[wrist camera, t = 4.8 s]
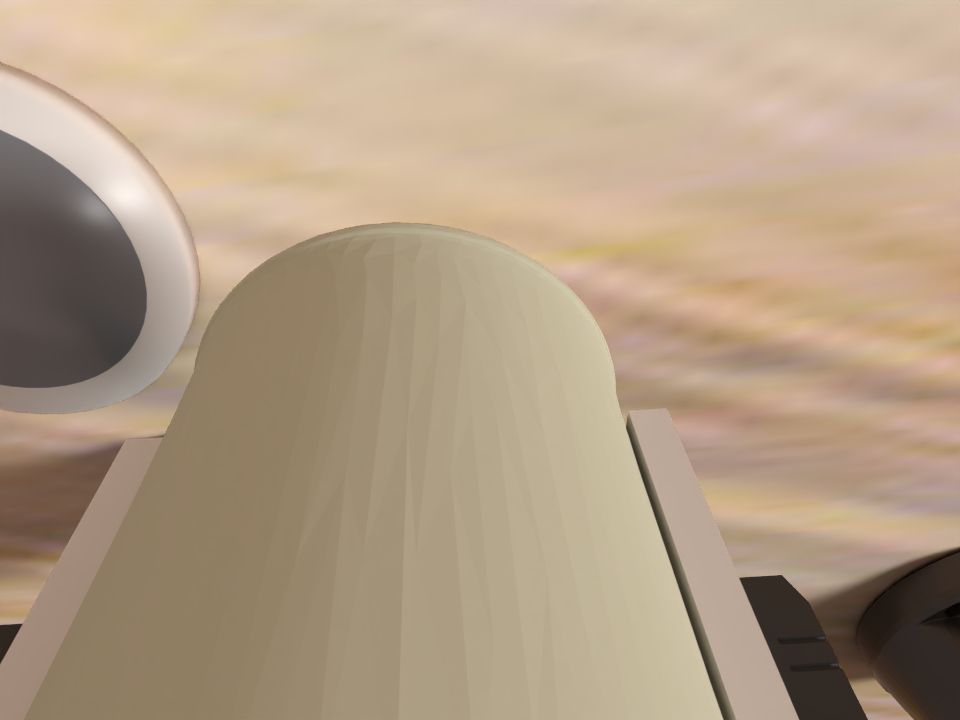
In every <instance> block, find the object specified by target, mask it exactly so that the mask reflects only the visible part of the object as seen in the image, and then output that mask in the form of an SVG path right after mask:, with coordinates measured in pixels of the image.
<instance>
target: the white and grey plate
mask: <svg viewBox="0 0 960 720" xmlns="http://www.w3.org/2000/svg"><path fill="white" fill-rule="evenodd" d="M199 291H200V272H199V261H198V256H197V252H196V248H195V244H194V240H193V236H192V234H191V231H190V229H189V226H188V224H187V221H186V219H185V216H184V214H183V212H182V210H181V209H180V207H179V205H178V203H177V201H176V199H175V198H174V196H173V194H172V192H171V191H170V189H169V188H168V186H167V185H166V184H165V182H164V181H163V179H162V178H161V176H160V175H159V174H158V172H157V171H156V169H155V168H154V167H153V166H152V165H151V164H150V163H149V161H148V160H147V159H146V158H145V157H144V156H143V154H142V153H141V152H140V151H139V150H138V149H137V148H136V147H135V146H134V145H133V144H132V143H131V142H130V141H129V140H128V139H127V138H126V137H125V136H124V135H123V134H122V133H120V132H119V131H118V130H117V129H116V128H115V127H114V126H113V125H112V124H110V123H109V122H108V121H106V120H105V119H104V118H103V117H101V116H100V115H99V114H97V113H96V112H95V111H93V110H92V109H91V108H90V107H88V106H87V105H85V104H84V103H82V102H80V101H79V100H77V99H76V98H74V97H72V96H71V95H69V94H68V93H66V92H65V91H63V90H61V89H60V88H58V87H56V86H54V85H52V84H50V83H48V82H46V81H44V80H42V79H40V78H38V77H36V76H34V75H32V74H30V73H27V72H25V71H22V70H20V69H17V68H14V67H12V66H9V65H7V64H4V63H1V62H0V409H1V410H7V411H13V412H20V413H33V414H67V413H76V412H85V411H89V410H94V409H98V408H103V407H106V406H109V405H112V404H115V403H117V402H120V401H123V400H125V399H127V398H129V397H131V396H133V395H135V394H136V393H138V392H140V391H142V390H143V389H144V388H146V387H147V386H148V385H150V384H151V383H152V382H154V381H155V380H156V379H157V378H158V377H159V376H160V375H161V374H162V373H163V372H164V371H165V370H166V369H167V367H168V366H169V364H170V363H171V361H172V360H173V358H174V357H175V355H176V354H177V352H178V350H179V348H180V346H181V344H182V343H183V341H184V339H185V337H186V335H187V333H188V331H189V329H190V326H191V324H192V322H193V319H194V317H195V313H196V309H197V305H198V301H199Z"/></svg>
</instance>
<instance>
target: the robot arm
mask: <svg viewBox="0 0 960 720" xmlns="http://www.w3.org/2000/svg"><path fill="white" fill-rule="evenodd" d="M626 430H627V433H628V436H629V439H630V442H631V445H632V449H633V452H634V455H635V458H636V461H637V464H638V468H639V471H640V474H641V477H642V480H643V483H644V486H645V489H646V492H647V495H648V498H649V501H650V504H651V507H652V510H653V513H654V516H655V519H656V522H657V525H658V528H659V531H660V534H661V537H662V540H663V543H664V545H665V548H666V551H667V554H668V557H669V560H670V563H671V566H672V569H673V572H674V575H675V578H676V581H677V584H678V587H679V590H680V593H681V596H682V599H683V602H684V605H685V608H686V611H687V614H688V617H689V620H690V623H691V626H692V629H693V632H694V635H695V638H696V641H697V644H698V647H699V650H700V653H701V656H702V659H703V662H704V665H705V668H706V671H707V674H708V677H709V680H710V683H711V685H712V688H713V691H714V694H715V697H716V700H717V703H718V706H719V709H720V712H721V714H722V717H723V720H868V719H867V717H866V715H865V713H864V711H863V709H862V707H861V705H860V703H859V701H858V699H857V697H856V695H855V693H854V691H853V689H852V687H851V685H850V683H849V681H848V679H847V677H846V675H845V673H844V671H843V670H842V669H840V668H839V664H838V663H839V662H838V660H837V658H836V656H835V654H834V652H833V650H832V648H831V646H830V644H829V642H827V641H826V639H825V634H824V632H823V630H822V628H821V626H820V624H819V622H818V620H817V618H816V616H815V614H814V612H813V610H812V608H811V606H810V604H809V602H808V601H807V600H806V599H805V598H804V597H803V596H802V595H801V594H800V593H799V592H798V591H797V590H796V589H795V588H794V587H793V586H792V585H791V584H790V583H789V582H788V581H787V580H786V579H785V578H784V577H783V576H782V575H777V576H761V577H745V578H739V577H738V574H737V572H736V570H735V567H734V565H733V563H732V560H731V558H730V555H729V553H728V551H727V548H726V546H725V544H724V541H723V539H722V537H721V534H720V532H719V530H718V527H717V525H716V522H715V520H714V518H713V515H712V513H711V511H710V508H709V506H708V504H707V501H706V499H705V497H704V494H703V492H702V489H701V487H700V485H699V482H698V480H697V478H696V475H695V473H694V471H693V468H692V466H691V464H690V461H689V459H688V456H687V454H686V452H685V449H684V447H683V445H682V442H681V440H680V438H679V435H678V433H677V431H676V428H675V426H674V423H673V421H672V419H671V416H670V414H669V412H668V409H650V410H632V411H628V416H627V424H626ZM162 439H163V437H160V438H143V439H126V440H125V442H124V443H123V445H122V447H121V449H120V451H119V452H118V454H117V456H116V458H115V460H114V461H113V463H112V465H111V467H110V469H109V470H108V472H107V474H106V476H105V477H104V479H103V481H102V483H101V485H100V486H99V488H98V490H97V492H96V494H95V495H94V497H93V499H92V501H91V503H90V504H89V506H88V508H87V510H86V512H85V513H84V515H83V517H82V519H81V520H80V522H79V524H78V526H77V528H76V529H75V531H74V533H73V535H72V537H71V538H70V540H69V542H68V544H67V546H66V547H65V549H64V551H63V553H62V555H61V556H60V558H59V560H58V562H57V563H56V565H55V567H54V569H53V571H52V572H51V574H50V576H49V578H48V580H47V581H46V583H45V585H44V587H43V589H42V590H41V592H40V594H39V596H38V598H37V599H36V601H35V603H34V605H33V607H32V608H31V610H30V612H29V614H28V615H27V617H26V619H25V621H24V623H23V624H12V625H0V720H24V718H25V716H26V714H27V712H28V710H29V708H30V706H31V704H32V702H33V700H34V698H35V696H36V694H37V692H38V690H39V688H40V686H41V684H42V682H43V680H44V678H45V676H46V674H47V672H48V670H49V668H50V666H51V664H52V662H53V660H54V658H55V656H56V654H57V652H58V650H59V648H60V646H61V644H62V642H63V640H64V638H65V636H66V634H67V632H68V630H69V628H70V626H71V624H72V622H73V620H74V618H75V616H76V614H77V612H78V610H79V608H80V606H81V604H82V602H83V600H84V598H85V596H86V594H87V592H88V590H89V588H90V586H91V584H92V582H93V580H94V578H95V576H96V574H97V572H98V570H99V568H100V566H101V564H102V562H103V560H104V558H105V556H106V554H107V552H108V550H109V548H110V546H111V544H112V542H113V539H114V537H115V535H116V533H117V531H118V529H119V527H120V525H121V523H122V521H123V519H124V517H125V515H126V513H127V511H128V509H129V507H130V505H131V503H132V501H133V499H134V497H135V495H136V493H137V491H138V489H139V487H140V485H141V483H142V481H143V478H144V476H145V474H146V472H147V470H148V468H149V466H150V464H151V462H152V460H153V458H154V456H155V454H156V452H157V450H158V447H159V445H160V443H161V441H162ZM856 640H857V645H858V648H859V650H860V652H861V654H862V656H863V657H864V659H865V661H866V663H867V665H868V667H869V669H870V670H871V672H872V674H873V676H874V677H875V679H876V680H877V682H878V683H879V684H880V685H881V686H882V687H883V688H884V689H885V690H886V691H887V692H888V693H890V694H891V695H892V696H893V697H894V698H895V700H896V701H897V702H898V703H899V704H900V705H901V706H902V707H903V708H904V710H905V711H906V712H907V713H908V714H909V715H910V716H911V717H912V718H913V719H914V720H960V552H959V553H956V554H954V555H951V556H948V557H946V558H943V559H941V560H939V561H936V562H934V563H932V564H930V565H928V566H926V567H924V568H922V569H920V570H918V571H916V572H915V573H913V574H911V575H909V576H908V577H906V578H905V579H903V580H901V581H900V582H898V583H897V584H896V585H894V586H893V587H892V588H890V589H889V590H888V591H886V592H885V593H884V594H883V595H882V596H881V597H880V598H878V599H877V600H876V601H875V602H874V603H873V605H872V606H871V607H870V608H869V609H868V611H867V612H866V613H865V615H864V616H863V618H862V620H861V622H860V624H859V627H858V630H857V636H856Z"/></svg>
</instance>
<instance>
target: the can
mask: <svg viewBox="0 0 960 720" xmlns="http://www.w3.org/2000/svg"><path fill="white" fill-rule="evenodd" d="M24 720H723V717H722V714H721V712H720V709H719V706H718V703H717V700H716V697H715V694H714V691H713V688H712V685H711V683H710V680H709V677H708V674H707V671H706V668H705V665H704V662H703V659H702V656H701V653H700V650H699V647H698V644H697V641H696V638H695V635H694V632H693V629H692V626H691V623H690V620H689V617H688V614H687V611H686V608H685V605H684V602H683V599H682V596H681V593H680V590H679V587H678V584H677V581H676V578H675V575H674V572H673V569H672V566H671V563H670V560H669V557H668V554H667V551H666V548H665V545H664V543H663V540H662V537H661V534H660V531H659V528H658V525H657V522H656V519H655V516H654V513H653V510H652V507H651V504H650V501H649V498H648V495H647V492H646V489H645V486H644V483H643V480H642V477H641V474H640V471H639V468H638V464H637V461H636V458H635V455H634V452H633V449H632V445H631V442H630V439H629V436H628V433H627V430H626V426H625V423H624V420H623V417H622V414H621V410H620V407H619V403H618V399H617V396H616V381H615V374H614V366H613V363H612V359H611V356H610V352H609V349H608V346H607V343H606V341H605V338H604V336H603V334H602V332H601V330H600V328H599V326H598V325H597V323H596V321H595V319H594V318H593V316H592V315H591V313H590V312H589V310H588V309H587V307H586V306H585V305H584V304H583V302H582V301H581V300H580V299H579V298H578V296H577V295H576V294H575V293H574V292H573V291H572V290H571V289H570V288H569V287H568V286H567V285H566V284H565V283H564V282H563V281H562V280H561V279H559V278H558V277H557V276H556V275H555V274H554V273H553V272H551V271H550V270H548V269H547V268H545V267H544V266H543V265H541V264H540V263H538V262H537V261H535V260H534V259H532V258H530V257H528V256H526V255H525V254H523V253H521V252H519V251H517V250H515V249H514V248H512V247H510V246H508V245H505V244H503V243H500V242H498V241H496V240H493V239H491V238H488V237H485V236H482V235H478V234H475V233H471V232H468V231H464V230H461V229H455V228H450V227H444V226H438V225H432V224H419V223H397V222H394V223H382V224H369V225H361V226H355V227H349V228H345V229H341V230H337V231H333V232H329V233H326V234H322V235H318V236H316V237H313V238H311V239H308V240H306V241H303V242H301V243H298V244H296V245H294V246H292V247H290V248H288V249H286V250H284V251H283V252H281V253H279V254H277V255H275V256H273V257H272V258H270V259H268V260H267V261H265V262H264V263H263V264H261V265H260V266H259V267H257V268H256V269H254V270H253V271H252V272H250V273H249V274H248V275H247V276H246V277H245V278H244V279H243V280H242V281H241V282H240V283H239V284H238V285H237V286H236V287H235V288H234V289H233V290H232V291H231V292H230V293H229V294H228V296H227V297H226V298H225V299H224V300H223V302H222V303H221V304H220V306H219V307H218V309H217V310H216V312H215V313H214V315H213V317H212V318H211V320H210V322H209V324H208V326H207V328H206V330H205V332H204V335H203V337H202V340H201V343H200V347H199V350H198V353H197V357H196V361H195V368H194V373H193V375H192V377H191V379H190V382H189V384H188V386H187V388H186V390H185V393H184V395H183V397H182V399H181V401H180V404H179V406H178V408H177V410H176V412H175V414H174V416H173V419H172V421H171V423H170V425H169V427H168V429H167V431H166V433H165V435H164V437H163V439H162V441H161V443H160V445H159V447H158V450H157V452H156V454H155V456H154V458H153V460H152V462H151V464H150V466H149V468H148V470H147V472H146V474H145V476H144V478H143V481H142V483H141V485H140V487H139V489H138V491H137V493H136V495H135V497H134V499H133V501H132V503H131V505H130V507H129V509H128V511H127V513H126V515H125V517H124V519H123V521H122V523H121V525H120V527H119V529H118V531H117V533H116V535H115V537H114V539H113V542H112V544H111V546H110V548H109V550H108V552H107V554H106V556H105V558H104V560H103V562H102V564H101V566H100V568H99V570H98V572H97V574H96V576H95V578H94V580H93V582H92V584H91V586H90V588H89V590H88V592H87V594H86V596H85V598H84V600H83V602H82V604H81V606H80V608H79V610H78V612H77V614H76V616H75V618H74V620H73V622H72V624H71V626H70V628H69V630H68V632H67V634H66V636H65V638H64V640H63V642H62V644H61V646H60V648H59V650H58V652H57V654H56V656H55V658H54V660H53V662H52V664H51V666H50V668H49V670H48V672H47V674H46V676H45V678H44V680H43V682H42V684H41V686H40V688H39V690H38V692H37V694H36V696H35V698H34V700H33V702H32V704H31V706H30V708H29V710H28V712H27V714H26V716H25V718H24Z"/></svg>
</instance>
